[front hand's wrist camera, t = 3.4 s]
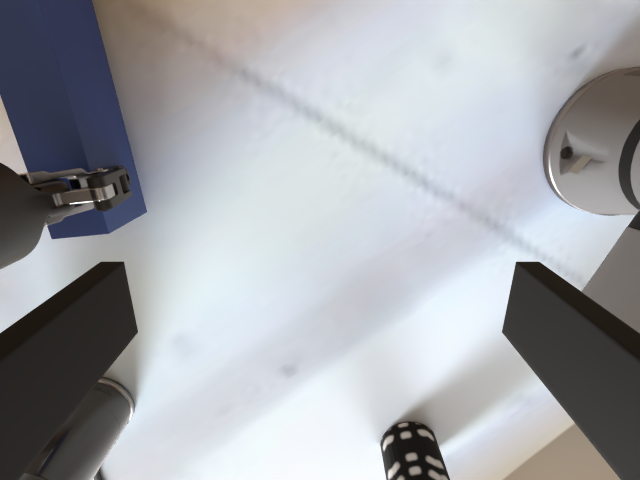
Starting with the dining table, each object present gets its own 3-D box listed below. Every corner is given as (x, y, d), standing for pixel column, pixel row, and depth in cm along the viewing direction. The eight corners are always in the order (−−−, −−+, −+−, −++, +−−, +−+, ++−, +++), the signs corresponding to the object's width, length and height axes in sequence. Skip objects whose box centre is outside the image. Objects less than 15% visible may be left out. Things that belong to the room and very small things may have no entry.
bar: (17, -53, 33) (-71, -102, 25) (76, -60, 33) (4, -112, 25) (100, 216, 41) (51, 239, 33) (147, 212, 41) (108, 233, 33)
